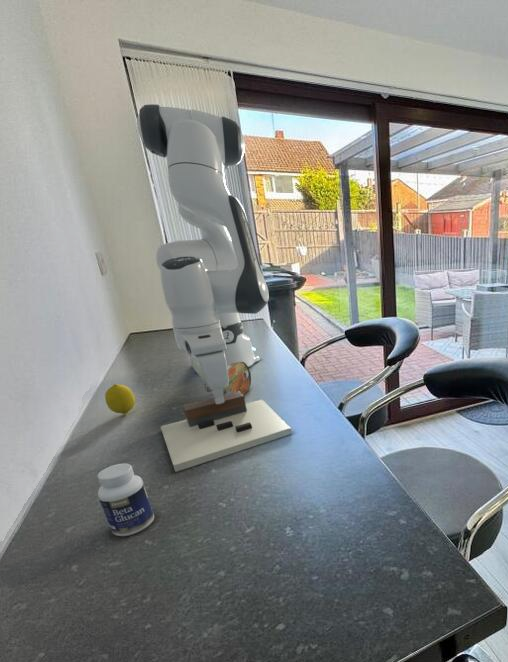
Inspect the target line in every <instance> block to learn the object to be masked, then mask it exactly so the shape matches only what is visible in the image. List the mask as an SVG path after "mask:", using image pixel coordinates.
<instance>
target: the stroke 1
mask: <svg viewBox="0 0 508 662" xmlns="http://www.w3.org/2000/svg"><path fill="white" fill-rule="evenodd" d="M213 425H215V424H214V421H213V420H209V421H205V422H202V423H198V427H199V429H203V428H206V427H210V426H213Z"/></svg>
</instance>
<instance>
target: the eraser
mask: <svg viewBox="0 0 508 662" xmlns="http://www.w3.org/2000/svg"><path fill="white" fill-rule="evenodd" d="M223 396H224V400H225V401H224V403H221V404H216V403H215V401H214V398H213V397H209V398H204V399H201V400H197V401H193V402H189V403H185V404H182V405H181V406H182V409H183V412H184V416H185V420H187V422H188V425H189V427H192V426H196V425H198V423H202V422H205V421H209V420H213V421H214V420H218V419H221V418H225V417H228V416H232V415H236V414H239V413H243V412H246V411H247V409H246V405H245V404H246V400H245V397H244V395H242V394H241V393H240V391H237V392H233V393H229V394H225V395H223Z"/></svg>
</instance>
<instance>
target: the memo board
mask: <svg viewBox="0 0 508 662" xmlns="http://www.w3.org/2000/svg"><path fill="white" fill-rule="evenodd" d="M245 405H246V409H247V411H246V412H243V413H239V414H236V415H232V416H228V417H225V418H221V419H218V420H214V424H215V425H213V426H210V427H206V428H203V429H199V427H198V425H196V426H192V427H189V425H188V422H187V420H186V419H182V420H179V421H175V422H171V423H168V424H164V425H161V426H160V430H161V433H162V435H163V440H164V442H165V444H166V449H167V451H168V454H169V458H170V461H171V463H172V467H173V469H174V472H175V473H177V472H180V471H183V470H187V469H190V468H192V467H195V466H198V465H202V464H204V463H207V462H211V461H214V460H217V459H220V458H223V457H226V456H229V455H232V454H235V453H239V452H241V451H244V450H247V449H250V448H253V447H256V446H259V445H262V444H266V443H268V442H272V441H274V440H275V441H276V440H278V439H280V438H283V437H287V436H289V435H292V428H291V427H290V426H289V424H288V423H286V421H284V420H283V418H281V416H280V415H279V414H277V412H275V411H274V409H272V408H271V406H269V405H268V404H267V403H266V401H264V399H263V398H262V399H258V400H254V401H250V402H247V403H246V402H245ZM229 421H231V422H232V423H233V427H230V428H227V429H223V430H220V431H218V429H217V426H216V425H218V424H222V423H225V422H229ZM249 422H250V423H251V425H252V428H251V429H248V430H244V431H241V432H237V431H236V428H235V426H239V425H242V424H246V423H249Z"/></svg>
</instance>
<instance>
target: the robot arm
mask: <svg viewBox="0 0 508 662" xmlns="http://www.w3.org/2000/svg"><path fill="white" fill-rule="evenodd" d="M136 127H137V132H138V135H139V137H140V139H141V141H142V143H143V144H144V147H145V148H146V149H147V150H148V151H149V152H150V153H152V154H154V155H155V156H158V157H161V158H165V159H166V164H167V176H168V184H169V188H170V192H171V195H172V197H173V199H174V200H175V201H176V203H177V206H178V207H177V208H178V213H179V215H180V217H181V218H182V219H183V221H185V222H186V223H188V224H189V225H191V226H193V227H195V228H197V229H199V230H200V232H201V237H202V238H201V239H184V240H183V239H180V240H174V241H169V242H167V243H163V244H161V245H160V246H159V247H158V248H157V250H156V253H155V261H156V265H157V267H158V270H159V271H160V281H161V288H162V292H163V297H164V301H165V305H166V307H167V309H168V310H169V312H170V315H171V325H172V326H171V327H172V330H173V334H174V338H175V342H176V344H177V348H178V349H179V350H180V351H185V352H186V355H187V356H189V359H190V363H191V366H192V369H193V370H194V371H195V372H196V373H197V375H198V376H199V377H200V379H201V381H202V383H203V387H204V390H205V391H206V392H207V393H209V392H212V398H214V401H215V403H216V404H221V403H224V401H225V400H224V396H223V388H225V387H227V386H228V384H229V377H228V369H227V366H229V365H230V364H232V363H237V362H244V363H246V365H247V366H248V368H249V367H251V366H253V365H254V364H255V363H257V362H259V361H261V358H260V356H258V355H255V353H254V351H256V348H255V347H253V346H252V342H251V338H250V337H249V336H248V335H246V334H245V333H244V326H243V323H242V321H241V320H240V315H239V314H247V315H248V314H249V315H250V314H251V315H252V314H253V315H257V314H258V313H260V312H261V311H262V310H263V309H264V308H266V306H267V305H268V303H269V301H270V300H269V299H270V293H269V287H268V284H267V282H266V278H265V275H264V273H263V271H262V267H261V264H260V261H259V257H258V252H257V250H256V245H255V242H254V237H253V235H252V234H253V233H252V230H251V228H250V224H249V221H248V218H247V214H246V212H245V210H244V207H243V205H242V204H241V202H240V200H239V199H238V198H237V197H236V196H234V195H231V193H230V192H229V190H228V188H227V184H226V179H225V178H226V177H225V170H227V169H229V167H233V166H238V165H239V164H240V163H241V162H242V160H243V157H244V154H245V148H246V143H245V138H244V135H243V133H242V131H241V128H240V126H239V125H238V123H237V122H236V121H235V120H233V119H232V118H228V117H226V116H218V115H215V114H211V113H209V112H205V111H200V110H197V109H186V108H180V107H174V106H173V107H172V106H171V107H170V106H160V105H159V104H156V103H155V104H154V103H153V104H144V105H143V106H142V107H140V109H139V113H138V116H137V120H136ZM224 169H225V170H224Z"/></svg>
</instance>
